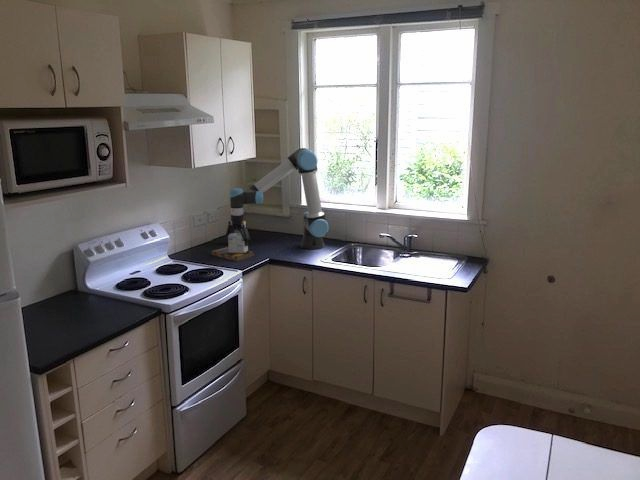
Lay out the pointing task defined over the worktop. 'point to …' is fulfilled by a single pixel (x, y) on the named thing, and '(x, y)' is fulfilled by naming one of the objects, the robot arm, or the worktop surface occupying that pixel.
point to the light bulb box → (235, 243)
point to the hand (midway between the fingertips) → (238, 249)
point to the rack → (231, 254)
